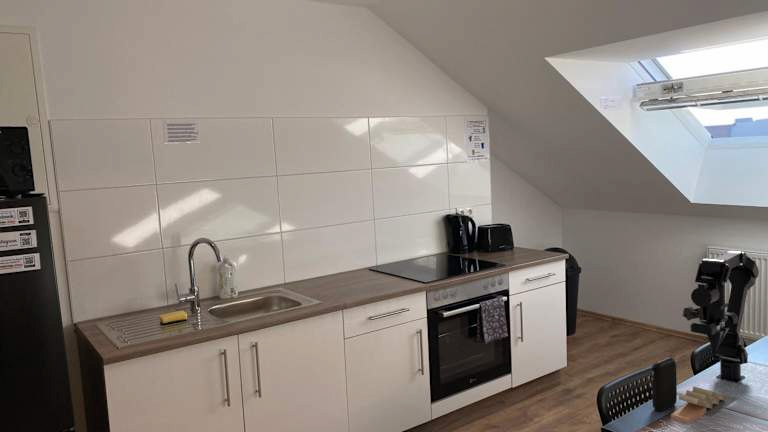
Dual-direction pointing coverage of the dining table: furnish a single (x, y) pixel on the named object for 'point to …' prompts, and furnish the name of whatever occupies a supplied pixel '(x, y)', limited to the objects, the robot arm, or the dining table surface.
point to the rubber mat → (718, 406)
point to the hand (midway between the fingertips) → (714, 349)
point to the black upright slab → (664, 384)
